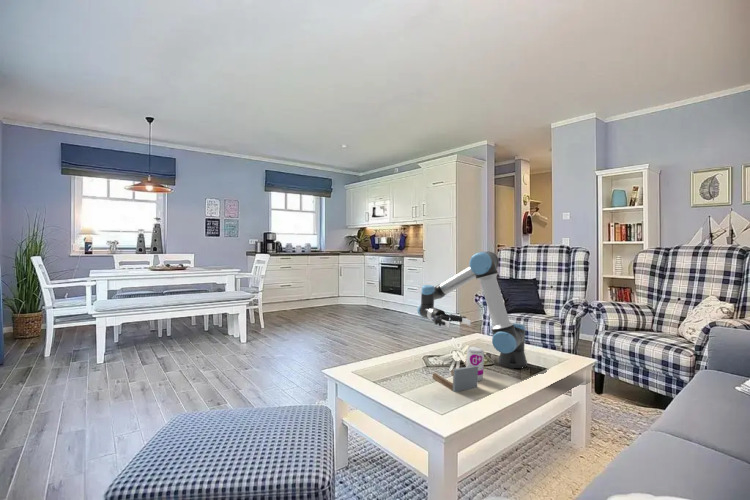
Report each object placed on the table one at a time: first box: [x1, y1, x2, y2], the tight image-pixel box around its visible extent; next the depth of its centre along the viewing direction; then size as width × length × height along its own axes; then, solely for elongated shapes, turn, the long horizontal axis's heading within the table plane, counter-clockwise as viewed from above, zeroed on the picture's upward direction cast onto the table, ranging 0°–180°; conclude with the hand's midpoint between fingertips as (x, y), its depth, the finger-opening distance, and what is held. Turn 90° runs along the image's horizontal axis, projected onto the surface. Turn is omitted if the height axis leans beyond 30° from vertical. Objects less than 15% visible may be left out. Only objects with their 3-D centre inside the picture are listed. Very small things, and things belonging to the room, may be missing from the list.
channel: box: [432, 369, 454, 392], centre depth 184 cm, size 13×16×2 cm
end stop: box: [452, 366, 478, 393], centre depth 176 cm, size 13×2×10 cm, turn 116°
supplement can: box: [465, 346, 485, 382], centre depth 190 cm, size 8×8×15 cm
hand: (460, 324), depth 199 cm, fingers open, 13 cm apart
